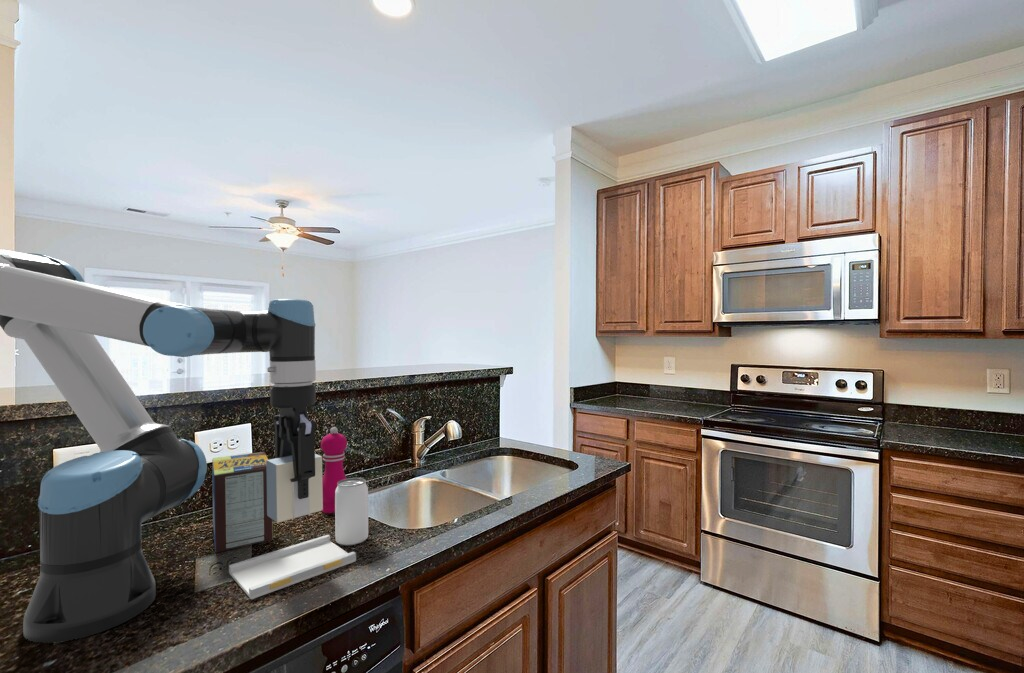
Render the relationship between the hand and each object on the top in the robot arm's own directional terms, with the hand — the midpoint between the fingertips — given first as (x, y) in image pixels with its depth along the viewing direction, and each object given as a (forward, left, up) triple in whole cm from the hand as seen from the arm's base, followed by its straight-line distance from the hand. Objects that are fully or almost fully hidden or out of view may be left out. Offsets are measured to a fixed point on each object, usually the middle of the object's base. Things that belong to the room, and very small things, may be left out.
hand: (294, 511), depth 87 cm
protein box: (-2, +24, -11) cm, 26 cm away
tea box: (0, 0, 0) cm, 0 cm away
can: (+13, +4, -10) cm, 17 cm away
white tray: (0, 0, -10) cm, 10 cm away
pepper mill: (+18, +23, -10) cm, 32 cm away
